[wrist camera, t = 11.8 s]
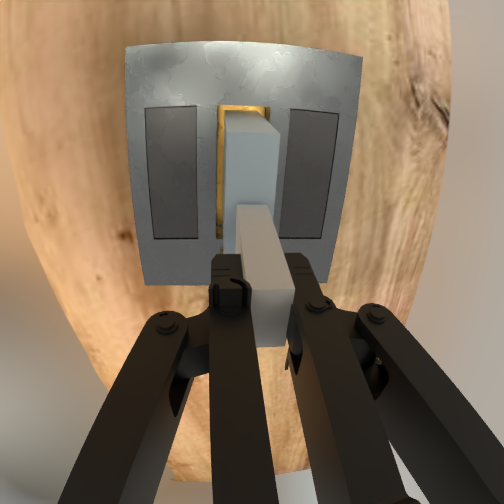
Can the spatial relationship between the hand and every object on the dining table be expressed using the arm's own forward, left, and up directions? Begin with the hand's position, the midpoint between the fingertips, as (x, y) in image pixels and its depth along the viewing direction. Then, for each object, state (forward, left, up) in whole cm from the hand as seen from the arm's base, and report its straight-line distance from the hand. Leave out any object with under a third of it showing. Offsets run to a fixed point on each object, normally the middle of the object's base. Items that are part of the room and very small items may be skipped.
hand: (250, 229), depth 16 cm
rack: (0, 0, -12) cm, 12 cm away
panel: (0, 0, -11) cm, 11 cm away
